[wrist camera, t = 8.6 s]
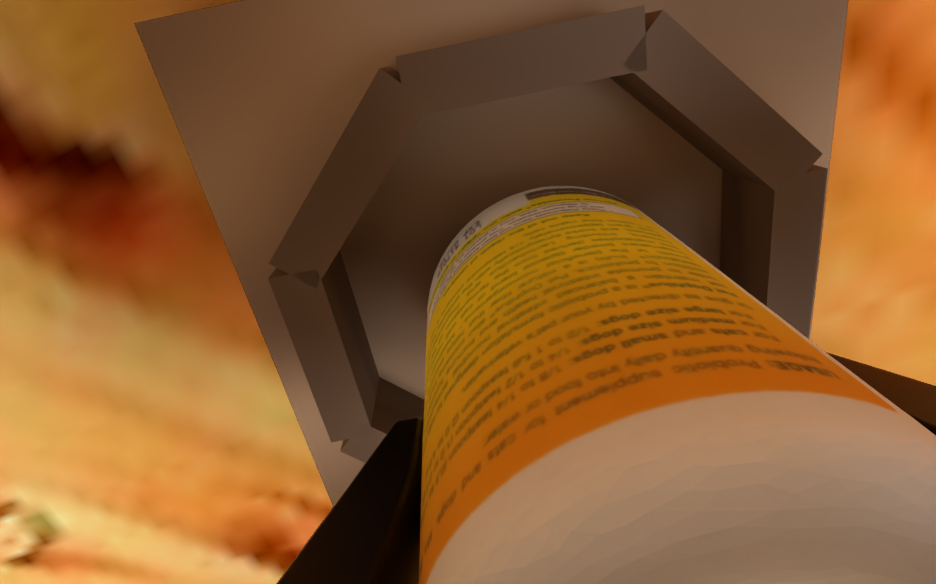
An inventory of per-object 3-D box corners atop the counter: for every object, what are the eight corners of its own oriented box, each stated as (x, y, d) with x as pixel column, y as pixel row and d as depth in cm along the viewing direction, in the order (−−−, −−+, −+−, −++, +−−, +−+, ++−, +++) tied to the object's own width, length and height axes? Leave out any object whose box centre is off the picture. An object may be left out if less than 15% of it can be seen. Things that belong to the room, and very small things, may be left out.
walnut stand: (768, 413, 17) (846, 497, 14) (349, 491, 17) (330, 590, 14) (809, -108, 11) (963, -175, 8) (170, 26, 11) (66, 16, 8)
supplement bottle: (377, 312, 12) (157, 1260, 2) (549, 121, 10) (1642, 746, 1) (547, 434, 14) (789, 1260, 4) (715, 286, 12) (1675, 1076, 3)
